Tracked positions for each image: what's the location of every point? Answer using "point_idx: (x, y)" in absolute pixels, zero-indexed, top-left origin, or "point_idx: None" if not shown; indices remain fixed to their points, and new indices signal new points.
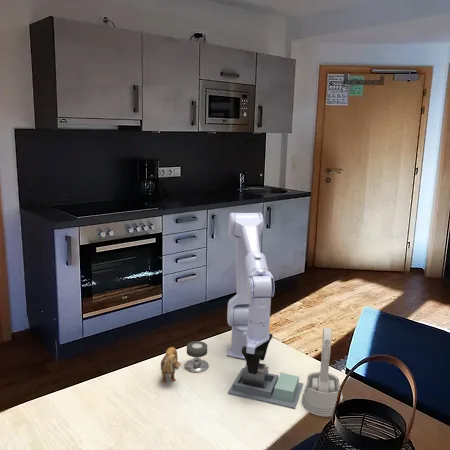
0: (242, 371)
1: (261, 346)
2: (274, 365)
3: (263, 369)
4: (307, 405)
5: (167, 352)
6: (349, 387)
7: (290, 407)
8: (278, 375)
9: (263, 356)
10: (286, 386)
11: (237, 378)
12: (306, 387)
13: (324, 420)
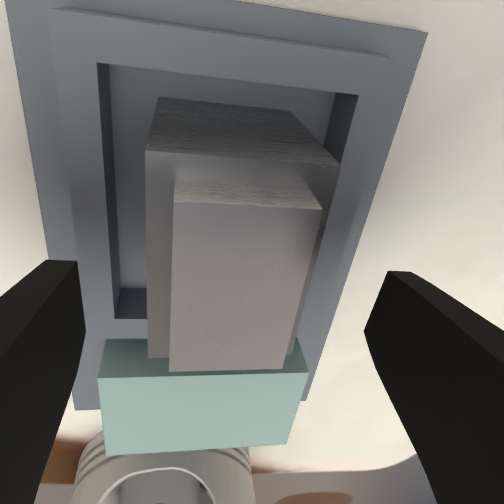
0: (334, 76)
1: (473, 465)
2: (495, 252)
3: (192, 363)
4: (96, 457)
5: None
6: (314, 496)
7: (72, 391)
8: (314, 336)
9: (384, 365)
10: (149, 423)
11: (183, 49)
12: (193, 475)
13: (57, 483)
